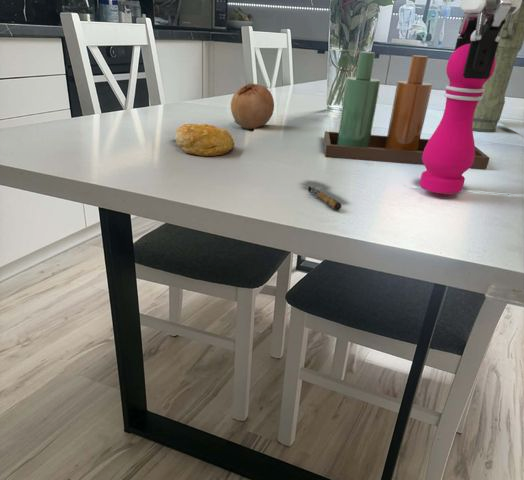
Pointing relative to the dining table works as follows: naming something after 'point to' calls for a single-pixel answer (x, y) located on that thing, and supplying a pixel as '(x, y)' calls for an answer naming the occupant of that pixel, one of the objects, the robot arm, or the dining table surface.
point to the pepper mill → (453, 129)
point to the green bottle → (359, 104)
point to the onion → (252, 106)
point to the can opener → (325, 198)
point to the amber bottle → (409, 108)
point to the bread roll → (204, 139)
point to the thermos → (500, 73)
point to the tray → (386, 152)
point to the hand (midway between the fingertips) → (468, 73)
